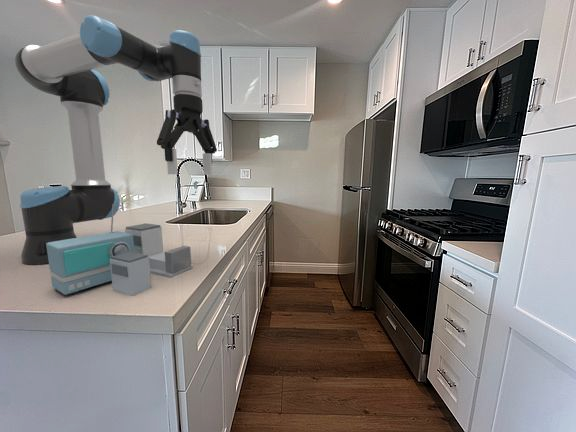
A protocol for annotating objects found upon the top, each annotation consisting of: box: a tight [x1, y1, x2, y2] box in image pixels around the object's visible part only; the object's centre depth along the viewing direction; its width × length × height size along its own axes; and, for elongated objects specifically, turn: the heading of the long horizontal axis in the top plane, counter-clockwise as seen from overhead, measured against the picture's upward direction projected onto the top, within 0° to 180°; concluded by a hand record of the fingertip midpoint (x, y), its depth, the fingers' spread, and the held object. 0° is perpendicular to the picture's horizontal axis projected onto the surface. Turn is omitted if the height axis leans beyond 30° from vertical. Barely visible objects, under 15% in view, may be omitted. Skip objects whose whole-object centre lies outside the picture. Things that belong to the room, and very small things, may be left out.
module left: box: [124, 223, 164, 256], centre depth 78 cm, size 7×8×12 cm
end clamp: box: [164, 245, 192, 274], centre depth 73 cm, size 2×7×6 cm, turn 157°
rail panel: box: [148, 251, 194, 278], centre depth 76 cm, size 20×8×4 cm, turn 67°
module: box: [110, 252, 152, 297], centre depth 62 cm, size 7×5×8 cm
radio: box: [46, 204, 134, 296], centre depth 64 cm, size 16×9×20 cm, turn 148°
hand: (191, 174), depth 73 cm, fingers open, 13 cm apart
